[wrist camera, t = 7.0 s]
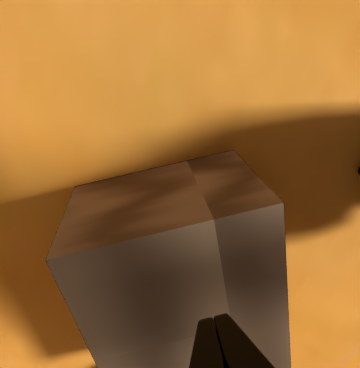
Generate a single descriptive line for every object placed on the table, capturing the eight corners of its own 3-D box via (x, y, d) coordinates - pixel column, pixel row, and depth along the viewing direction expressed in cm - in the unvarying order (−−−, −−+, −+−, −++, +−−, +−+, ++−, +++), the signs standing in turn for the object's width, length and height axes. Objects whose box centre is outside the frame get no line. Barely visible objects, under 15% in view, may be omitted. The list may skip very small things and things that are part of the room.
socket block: (233, 149, 19) (283, 202, 13) (252, 308, 25) (292, 397, 19) (72, 187, 19) (41, 260, 12) (131, 339, 25) (130, 441, 18)
